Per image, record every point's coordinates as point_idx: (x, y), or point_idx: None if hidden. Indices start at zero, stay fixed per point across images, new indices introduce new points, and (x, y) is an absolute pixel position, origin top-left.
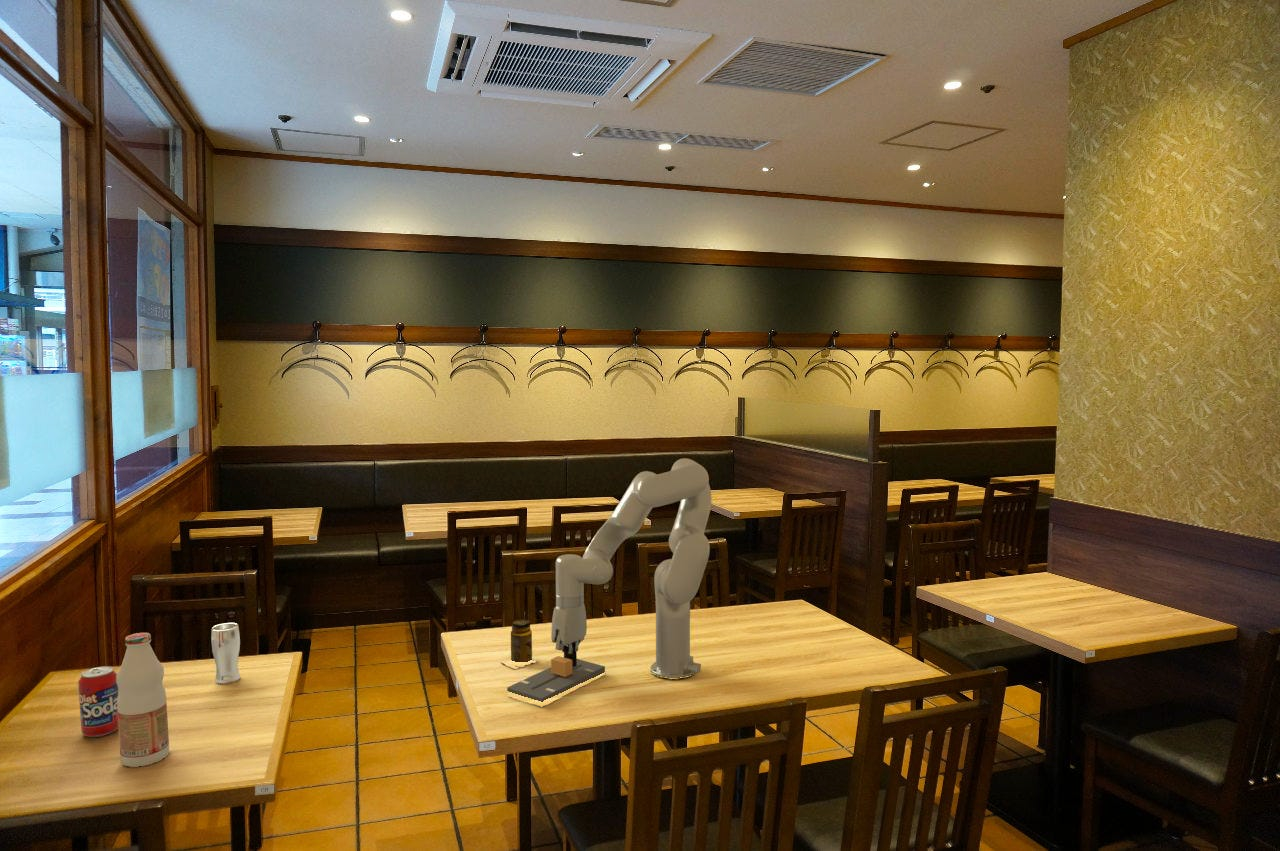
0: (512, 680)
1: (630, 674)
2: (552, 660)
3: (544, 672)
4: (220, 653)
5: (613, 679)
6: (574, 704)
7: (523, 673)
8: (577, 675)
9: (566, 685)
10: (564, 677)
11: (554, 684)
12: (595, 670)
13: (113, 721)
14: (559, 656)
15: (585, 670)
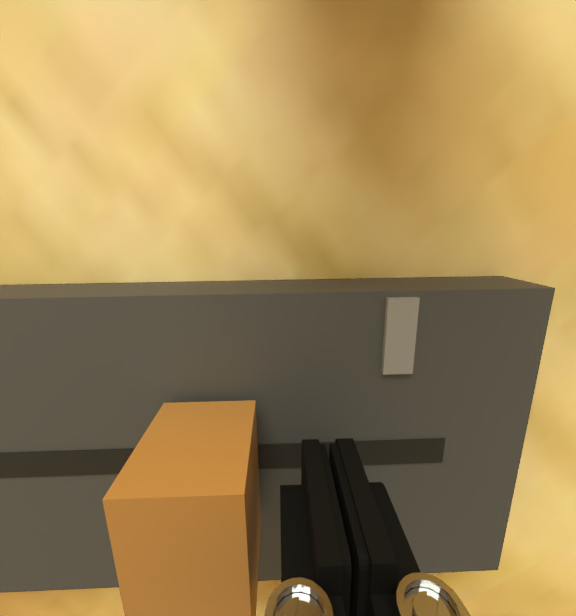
0: (21, 90)
1: (532, 593)
2: (110, 512)
3: (157, 331)
4: None
5: (436, 573)
6: (81, 612)
7: (180, 58)
8: (273, 540)
9: (105, 583)
10: None
11: (58, 525)
12: None
13: None
14: (239, 516)
15: None
